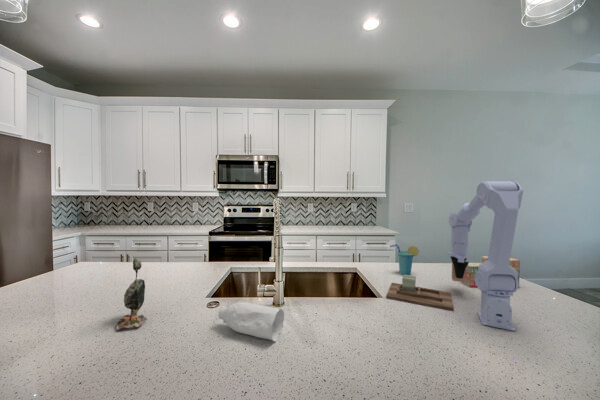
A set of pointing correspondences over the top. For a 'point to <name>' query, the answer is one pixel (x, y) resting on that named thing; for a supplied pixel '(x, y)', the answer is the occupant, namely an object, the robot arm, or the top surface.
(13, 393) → the top surface
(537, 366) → the top surface
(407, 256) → the cup
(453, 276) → the terracotta block
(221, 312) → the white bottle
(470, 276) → the stack of blocks
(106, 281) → the top surface
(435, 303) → the walnut base
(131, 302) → the plant with pod
